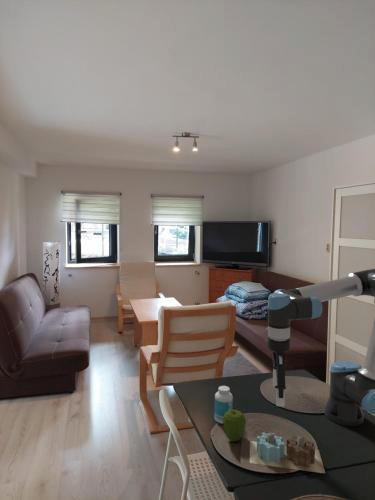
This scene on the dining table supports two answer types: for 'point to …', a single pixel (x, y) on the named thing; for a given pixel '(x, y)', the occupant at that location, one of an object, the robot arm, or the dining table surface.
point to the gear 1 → (270, 448)
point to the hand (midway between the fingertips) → (278, 395)
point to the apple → (234, 424)
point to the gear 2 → (300, 452)
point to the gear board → (285, 462)
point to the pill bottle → (222, 403)
